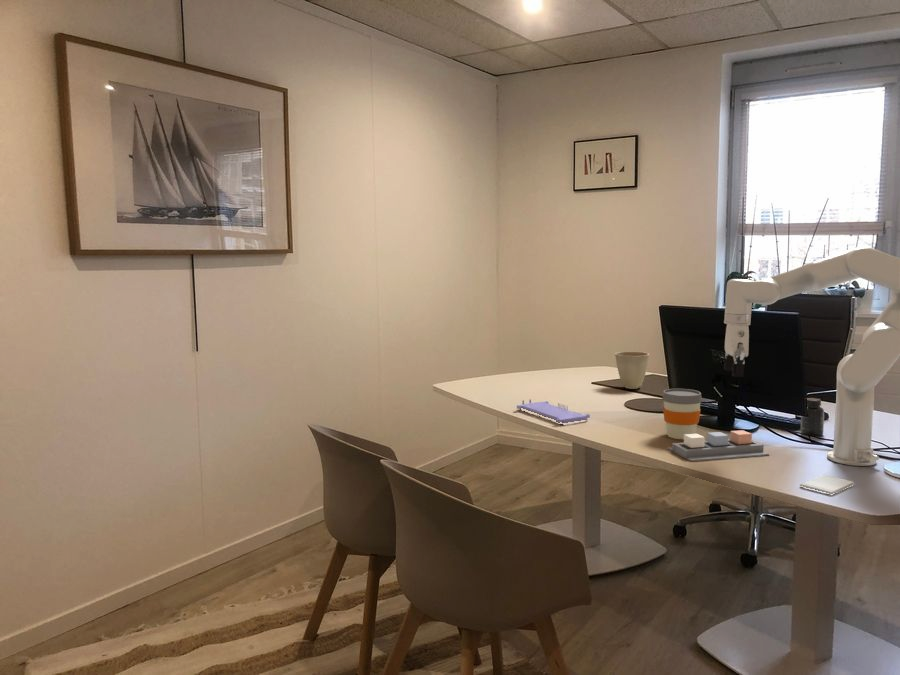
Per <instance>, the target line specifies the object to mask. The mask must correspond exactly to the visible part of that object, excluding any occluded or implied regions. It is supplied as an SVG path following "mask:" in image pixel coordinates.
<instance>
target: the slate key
mask: <svg viewBox="0 0 900 675" xmlns="http://www.w3.org/2000/svg"><path fill="white" fill-rule="evenodd" d="M706 436H707V437H706V438H707V439H706V441H707V442H708V443H710V444H712V445H714V446H721V445H728V439H729V435H728V434H726V433H723V432H721V431H713V432H707V434H706Z"/></svg>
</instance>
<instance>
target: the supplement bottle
mask: <svg viewBox="0 0 900 675" xmlns="http://www.w3.org/2000/svg"><path fill="white" fill-rule="evenodd" d="M806 398H807V407H808V417H802V416H801V415H800V433H801V434H802V435H803V434H804V436H807V435H809V436H808V437H821V436H823V435H824V431H825V430H824V425H825V423H824V422H825V410H824V408H823V407H822V400H821V398H815V397H806Z"/></svg>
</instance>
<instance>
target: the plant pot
mask: <svg viewBox="0 0 900 675" xmlns="http://www.w3.org/2000/svg"><path fill="white" fill-rule="evenodd" d="M614 356H615V361H616V362H615V363H616V366H617V367H616V368H617V371H618V375H619V378H620V379H619V380H620V381H621V382H620V383H621V384H622V387H623V386H628V387H639V386H641V387H642V385H643V382H644V379H645V376H646V372H647V369H648V365H649V359H650V353H648V352H643V351H618V352H615V353H614Z"/></svg>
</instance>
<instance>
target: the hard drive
mask: <svg viewBox="0 0 900 675" xmlns="http://www.w3.org/2000/svg"><path fill="white" fill-rule="evenodd" d="M852 485H854V486H855V482H854V481H852V480H849V479H843V478H840V477H835V476H832V475H827V474H821V475H819V476H817V477H814V478H812V479H810V480H807V481H805V482H802V483H801V484H799V487H800V486H803V487H806V488H810V489H815V490H818V491H822V492H826V493H829V494H833V493H836V492H839V491H841V490H843V489H845V488H847V487H850V486H852ZM852 487H853V486H852ZM850 488H851V487H850ZM841 492H842V491H841ZM839 493H840V492H839Z"/></svg>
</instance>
